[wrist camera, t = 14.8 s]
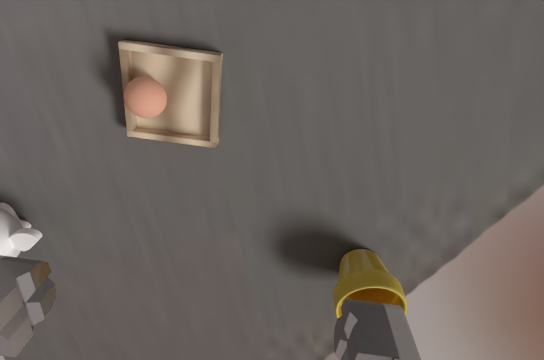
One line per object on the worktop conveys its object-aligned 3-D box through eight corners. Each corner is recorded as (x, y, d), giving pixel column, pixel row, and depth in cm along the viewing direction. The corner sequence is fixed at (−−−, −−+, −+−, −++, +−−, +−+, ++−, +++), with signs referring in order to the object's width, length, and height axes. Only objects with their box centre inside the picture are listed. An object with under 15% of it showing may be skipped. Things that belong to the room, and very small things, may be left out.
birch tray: (222, 52, 42) (219, 55, 40) (218, 141, 47) (215, 147, 46) (125, 39, 41) (118, 41, 40) (133, 130, 47) (127, 136, 45)
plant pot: (358, 293, 61) (368, 343, 52) (316, 265, 58) (320, 312, 49) (403, 262, 57) (423, 310, 48) (361, 229, 54) (374, 274, 45)
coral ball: (168, 83, 39) (122, 83, 38) (170, 123, 42) (126, 125, 40) (163, 72, 43) (121, 71, 41) (165, 109, 46) (125, 110, 44)
